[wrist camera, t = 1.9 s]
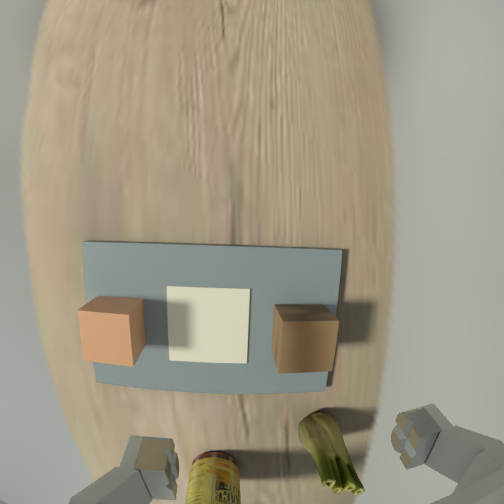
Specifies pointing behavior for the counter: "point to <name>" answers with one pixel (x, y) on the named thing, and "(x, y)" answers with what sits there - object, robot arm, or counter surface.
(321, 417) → the fennel bulb
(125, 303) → the terracotta block
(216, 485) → the sauce bottle
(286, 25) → the counter surface
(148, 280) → the build board
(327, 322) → the walnut block
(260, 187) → the counter surface
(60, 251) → the counter surface
